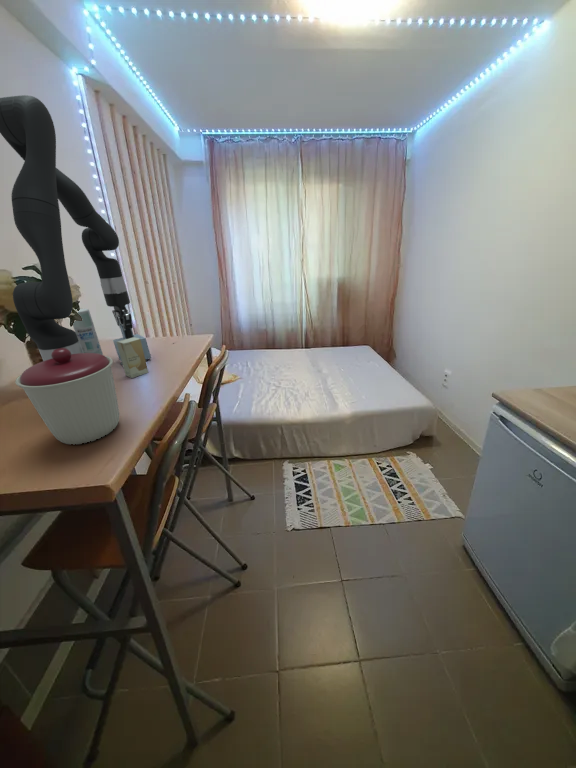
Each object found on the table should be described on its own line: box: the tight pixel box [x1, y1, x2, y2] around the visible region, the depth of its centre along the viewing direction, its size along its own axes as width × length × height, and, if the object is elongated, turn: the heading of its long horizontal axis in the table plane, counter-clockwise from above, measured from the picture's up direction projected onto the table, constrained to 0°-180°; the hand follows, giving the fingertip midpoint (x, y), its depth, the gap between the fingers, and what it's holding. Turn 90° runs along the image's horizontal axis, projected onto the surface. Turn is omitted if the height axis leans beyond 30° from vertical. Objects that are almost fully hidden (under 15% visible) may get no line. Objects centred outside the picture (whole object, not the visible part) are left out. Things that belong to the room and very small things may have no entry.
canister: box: [14, 348, 120, 445], centre depth 72 cm, size 18×18×21 cm
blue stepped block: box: [112, 324, 152, 362], centre depth 118 cm, size 9×9×13 cm
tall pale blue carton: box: [72, 308, 104, 355], centre depth 118 cm, size 6×6×20 cm
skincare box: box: [117, 337, 149, 379], centre depth 106 cm, size 6×4×12 cm
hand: (128, 338), depth 117 cm, fingers closed on blue stepped block, 3 cm apart
